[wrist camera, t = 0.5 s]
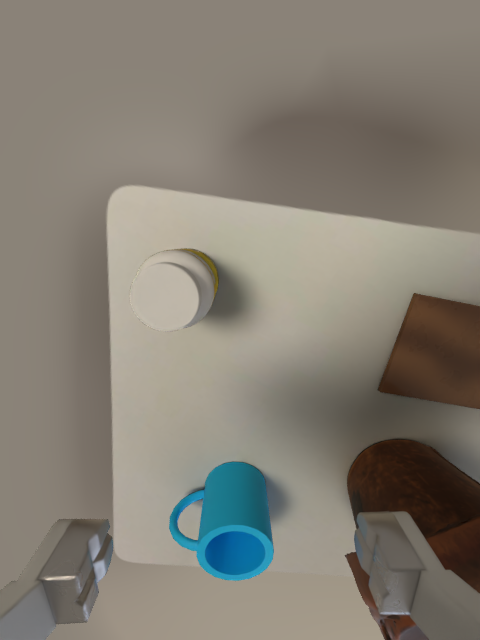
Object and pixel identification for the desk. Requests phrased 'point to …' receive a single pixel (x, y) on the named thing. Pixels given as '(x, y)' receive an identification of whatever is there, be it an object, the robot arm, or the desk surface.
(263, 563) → the mug
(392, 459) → the case
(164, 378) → the desk surface
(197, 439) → the desk surface
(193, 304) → the pill bottle
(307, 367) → the desk surface
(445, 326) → the brown wooden coaster
